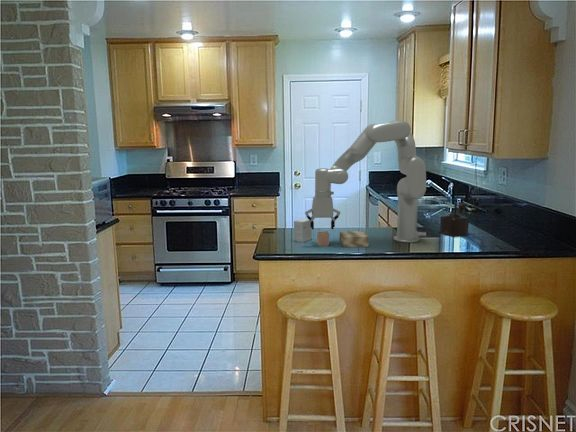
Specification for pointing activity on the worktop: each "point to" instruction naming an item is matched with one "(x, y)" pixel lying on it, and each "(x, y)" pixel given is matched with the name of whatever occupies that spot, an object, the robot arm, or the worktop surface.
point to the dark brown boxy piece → (455, 223)
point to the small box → (302, 230)
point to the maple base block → (354, 239)
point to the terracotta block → (323, 238)
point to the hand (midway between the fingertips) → (322, 228)
